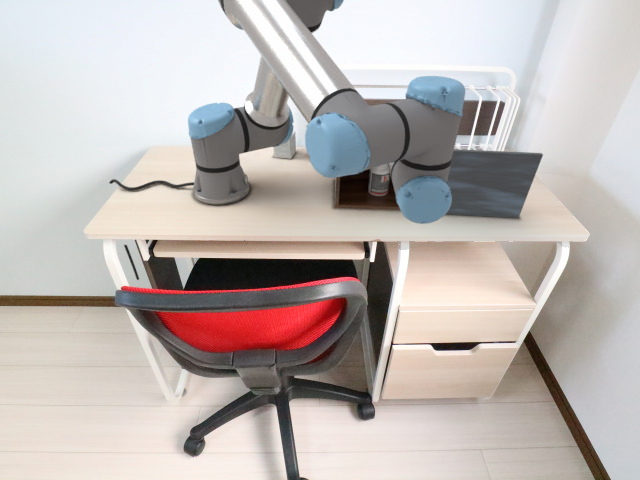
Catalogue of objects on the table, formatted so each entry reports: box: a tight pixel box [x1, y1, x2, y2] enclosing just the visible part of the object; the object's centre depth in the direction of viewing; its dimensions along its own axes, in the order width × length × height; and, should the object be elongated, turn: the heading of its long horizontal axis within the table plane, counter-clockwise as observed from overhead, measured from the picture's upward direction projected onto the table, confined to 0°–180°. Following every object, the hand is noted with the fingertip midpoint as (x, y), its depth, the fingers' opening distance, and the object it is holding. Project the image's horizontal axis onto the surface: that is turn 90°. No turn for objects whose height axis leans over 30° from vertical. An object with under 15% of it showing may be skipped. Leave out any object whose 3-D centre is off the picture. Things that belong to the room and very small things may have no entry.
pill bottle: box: [368, 164, 390, 196], centre depth 106 cm, size 6×6×10 cm
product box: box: [273, 130, 297, 160], centre depth 128 cm, size 6×6×7 cm
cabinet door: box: [445, 148, 544, 219], centre depth 98 cm, size 6×24×18 cm, turn 86°
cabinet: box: [334, 169, 401, 211], centre depth 104 cm, size 16×24×18 cm, turn 88°
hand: (393, 119), depth 84 cm, fingers open, 13 cm apart
